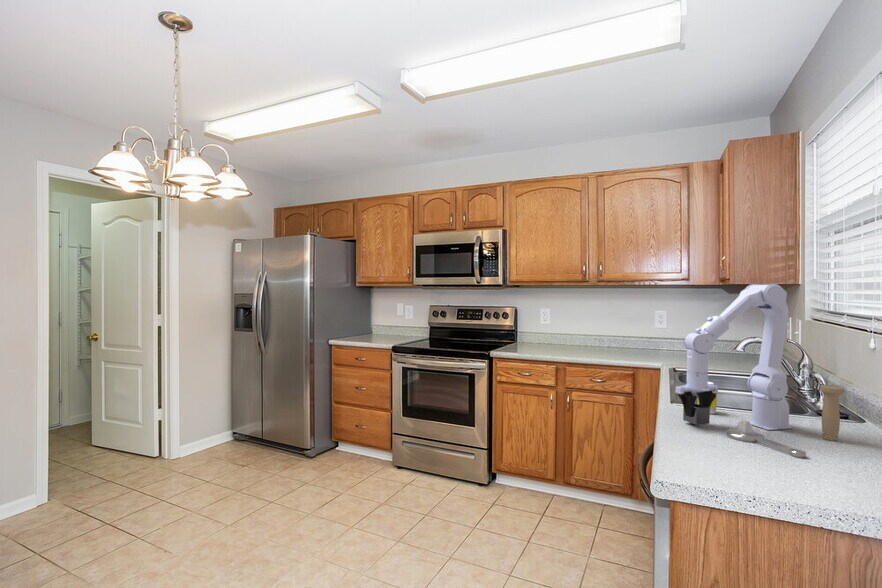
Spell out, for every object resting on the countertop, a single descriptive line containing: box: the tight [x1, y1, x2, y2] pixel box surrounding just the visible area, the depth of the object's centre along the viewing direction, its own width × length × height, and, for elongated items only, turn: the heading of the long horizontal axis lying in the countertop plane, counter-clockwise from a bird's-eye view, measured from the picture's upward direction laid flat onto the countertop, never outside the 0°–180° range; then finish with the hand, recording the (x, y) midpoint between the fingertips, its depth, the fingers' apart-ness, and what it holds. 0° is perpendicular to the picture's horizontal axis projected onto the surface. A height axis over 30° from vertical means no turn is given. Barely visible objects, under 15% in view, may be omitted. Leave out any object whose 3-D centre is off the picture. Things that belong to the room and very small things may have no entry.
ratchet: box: [725, 419, 807, 459], centre depth 122 cm, size 9×21×5 cm, turn 16°
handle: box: [819, 384, 844, 442], centre depth 127 cm, size 5×6×15 cm
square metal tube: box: [682, 402, 711, 426], centre depth 139 cm, size 5×5×5 cm
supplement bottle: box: [697, 381, 718, 415], centre depth 154 cm, size 6×6×10 cm
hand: (696, 415), depth 139 cm, fingers closed on square metal tube, 5 cm apart
